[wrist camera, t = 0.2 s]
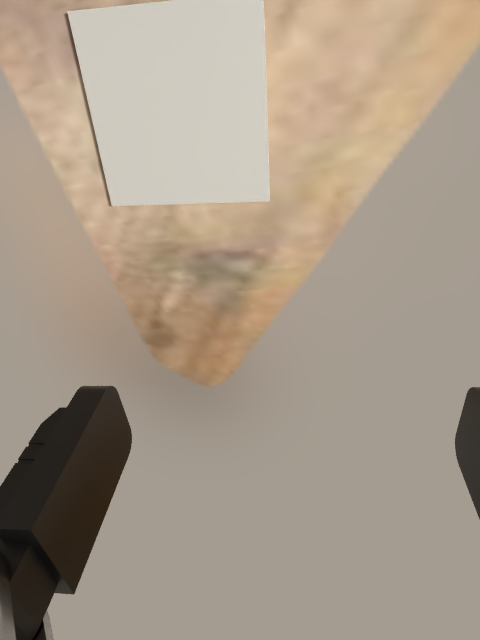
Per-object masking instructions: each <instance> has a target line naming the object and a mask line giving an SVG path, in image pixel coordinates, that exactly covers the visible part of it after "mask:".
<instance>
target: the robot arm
mask: <svg viewBox="0 0 480 640" xmlns="http://www.w3.org/2000/svg"><path fill="white" fill-rule="evenodd" d="M131 443H132V434H131V428H130V425H129V422H128V420H127V417H126V414H125V411H124V408H123V405H122V402H121V400H120V397H119V394H118V392H117V390H116V388H115V387H113V386H82V387H80V388H79V389H78V390H77V392H76V393H75V395H74V397H73V398H72V400H71V401H70V403H69V405H68V406H67V408H59V409H58V410H57V411H55V412H54V413H53V414H52V415H51V416H50V417H48V418H47V419H46V420H45V421H44V422H43V423H42V424H41V425H40V426H39V428H38V429H37V431H36V433H35V434H34V436H33V437H32V439H31V440H30V442H29V446H28V447H26V448H25V449H24V451H23V453H22V454H21V456H20V457H19V459H18V460H19V461H18V463H15V465H14V466H13V468H12V469H11V471H10V472H9V474H8V476H7V477H6V479H5V480H4V482H3V483H2V485H1V486H0V640H54V639H53V635H52V629H51V623H50V618H49V615H48V612H47V608H48V606H49V604H50V601H51V599H52V597H53V594H54V593H63V594H74V593H75V590H76V588H77V585H78V583H79V580H80V578H81V575H82V573H83V570H84V568H85V565H86V563H87V560H88V558H89V555H90V553H91V550H92V547H93V545H94V542H95V540H96V537H97V535H98V532H99V530H100V527H101V525H102V522H103V520H104V517H105V515H106V512H107V509H108V507H109V504H110V502H111V499H112V497H113V494H114V492H115V489H116V486H117V484H118V481H119V479H120V476H121V474H122V471H123V469H124V466H125V464H126V461H127V459H128V456H129V453H130V450H131ZM455 449H456V456H457V460H458V463H459V467H460V469H461V472H462V474H463V477H464V480H465V482H466V485H467V487H468V490H469V493H470V495H471V498H472V501H473V503H474V506H475V508H476V511H477V514H478V516H479V519H480V387H472V388H470V389H469V391H468V393H467V396H466V399H465V403H464V406H463V410H462V414H461V417H460V421H459V425H458V429H457V433H456V438H455Z"/></svg>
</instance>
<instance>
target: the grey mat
mask: <svg viewBox="0 0 480 640" xmlns="http://www.w3.org/2000/svg"><path fill="white" fill-rule="evenodd" d="M67 12H68V17H69V21H70V25H71V30H72V34H73V38H74V43H75V47H76V52H77V56H78V60H79V65H80V69H81V74H82V78H83V82H84V87H85V91H86V95H87V100H88V104H89V109H90V113H91V117H92V122H93V126H94V130H95V135H96V139H97V144H98V148H99V152H100V157H101V161H102V165H103V170H104V174H105V179H106V183H107V187H108V192H109V196H110V201H111V205H112V206H133V205H166V204H198V203H231V202H263V201H270V185H269V153H268V120H267V88H266V55H265V23H264V0H172V1H162V2H153V3H143V4H134V5H124V6H114V7H105V8H95V9H86V10H76V11H67Z"/></svg>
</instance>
